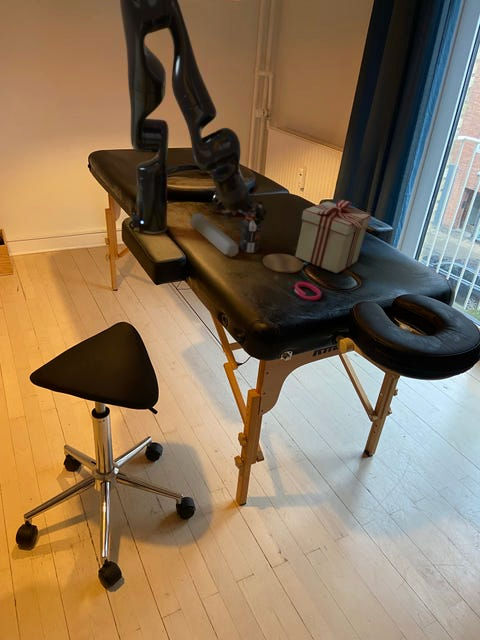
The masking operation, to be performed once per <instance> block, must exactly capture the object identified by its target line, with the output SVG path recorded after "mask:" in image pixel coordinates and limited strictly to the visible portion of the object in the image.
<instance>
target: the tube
mask: <svg viewBox="0 0 480 640" xmlns="http://www.w3.org/2000/svg"><path fill="white" fill-rule="evenodd" d="M189 222H190V224H189V226H190V227H191V228H193V229H195V230H196V231H197V232H198V234H200V235H202V236H203V237H204V238H205V239H206V240H207V241H209V243H210V244H212V245H213V246H214V247H215V248H217V249H218V250H219V251H220V252H221V253H222V254H223V255H225V256H226V257H228V258H232V257H235V256H237V254H238V253H239V243H237V242H236V241H235V240H233V239H232V238H231V237H229V235H227V234H226V233H225V232H223V231H222V230H221V229H220V228H218V227H217V226H216V225H215V224H213V223H212V222H211V221H210V220H208V219H207V218H206V216H204V214H202V213H201V212H199V213H193V215H192V217H191V218H190V221H189Z"/></svg>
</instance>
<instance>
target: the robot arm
mask: <svg viewBox="0 0 480 640" xmlns="http://www.w3.org/2000/svg"><path fill="white" fill-rule="evenodd" d="M119 6H120V14H121V21H122V28H123V34H124V40H125V49H126V62H127V64H126V65H127V86H128V97H129V105H130V107H129V108H130V123H129V133H130V135H129V136H130V137H129V138H130V143H131V147H132V148H133V150H134V151H135V152H138V153H148V154H156V155H155V156H154V157H153V158H150V159H149V160H146V161H143V162H140V163H138V164H137V166H136V197H135V201H136V202H135V205H136V207H135V208H136V214H131V220H130V221H129V222H128V228H129V229H131V230H132V231H133V230H134V229H137V230H138V233H139V234H146V235H160V234H164V233H166V232H167V231H168V157H169V156H168V155H169V138H170V132H169V131H170V130H169V125H168V122H167V121H166V120H164V119H156V118H148V117H149V116H150V115H152V113H153V112H154V111H155V110H157V109H158V107H159V106H160V105H161V104H162V102H164V99H165V96H166V88H167V87H166V86H167V74H166V73H167V72H166V69H165V66H164V65H163V63H162V61H161V60H160V59H159V57H158V56H157V55H155V53H154V52H153V51H152V50H151V49H150V48H149V47H148V46H147V44H146V37H147V36H148V35H150V34H153V33H156V32H159V31H162V30H166V29H167V31H168V33H169V35H170V37H171V41H172V45H173V61H172V71H171V87H172V88H171V89H172V92H173V97H174V98H175V101H176V103H177V105H178V107H179V110H180V112H181V114H182V116H183V118H184V121H185V123H186V126H187V130H188V133H189V138H190V143H191V150H192V156H193V160H194V163H195V165H196V166H197V167H198V168H199V169H200V170H201V171H203V172H205V173H208V172H209V175H210V177H211V179H212V182H213V184H214V186H215V192H214V193H213V196H212V199H211V202H212V204H213V208H214V207H215V210H217V211H219V210H222V212H223V213H224V214H223V215H224V216H225V217H226V219H227V220H231V218H232V216H233V215H232V211H236V212H237V213H240V214H243V215H244V216H245V217H246V216H247V217H252V218H253V219H254V222H255V225H257V226H258V225H259V224H260V223H261V224H262V222H264V221H265V219H266V215H267V210H266V207H265V205H264V203H263V201H258V203H256V202H255V203H254V202H253V201H252V200H251V194H250V191H249V188H248V185H247V183H246V179H245V177H244V175H243V173H242V171H241V168H240V162H241V153H242V152H241V149H242V148H241V141H240V139H239V137H238V134H237V132H235V131H234V130H233V129H231V128H229V127H221V128H219V129H217V130H215V131H213V132H211V133H209V134H207V135H204V136H203V137H202V132H203V130H204V129H205V128H206V126H208V125H209V124H210V123H211V122H213V121H214V119H216V117H217V109H216V106H215V104H214V101H213V99H212V97H211V94H210V92H209V90H208V87H207V85H206V84H205V81H204V78H203V76H202V73H201V71H200V68H199V66H198V62H197V60H196V55H195V53H194V48H193V45H192V41H191V38H190V35H189V32H188V28H187V26H186V22H185V19H184V16H183V12H182V9H181V6H180V3H179V0H119ZM248 212H249V213H248ZM254 212H255V215H254Z"/></svg>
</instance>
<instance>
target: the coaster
mask: <svg viewBox="0 0 480 640" xmlns="http://www.w3.org/2000/svg"><path fill="white" fill-rule="evenodd" d="M262 265H264V267H266V268H267V269H269V270H271V271H274V272H278V273H283V274H284V273H285V274H291V273H293V274H294V273H298V272H300V271H301V270H303V268H304V261H303V260H302V259H299V258H297V257H295V256H294V255H292V254H286V253H270V254H267V255H265V256H264V257H262Z"/></svg>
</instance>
